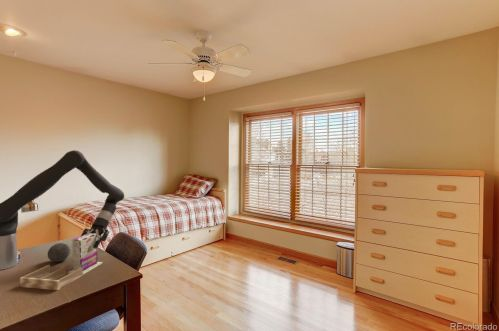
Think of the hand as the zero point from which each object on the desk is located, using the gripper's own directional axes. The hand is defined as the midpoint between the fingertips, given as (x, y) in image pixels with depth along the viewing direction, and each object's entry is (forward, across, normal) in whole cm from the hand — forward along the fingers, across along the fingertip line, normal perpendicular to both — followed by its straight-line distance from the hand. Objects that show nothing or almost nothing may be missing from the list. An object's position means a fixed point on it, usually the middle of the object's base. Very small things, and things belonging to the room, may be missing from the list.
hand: (87, 247), depth 136 cm
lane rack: (+19, -4, -4) cm, 20 cm away
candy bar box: (+8, 0, +6) cm, 10 cm away
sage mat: (+8, 0, +6) cm, 10 cm away
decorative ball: (+5, -20, +10) cm, 23 cm away
